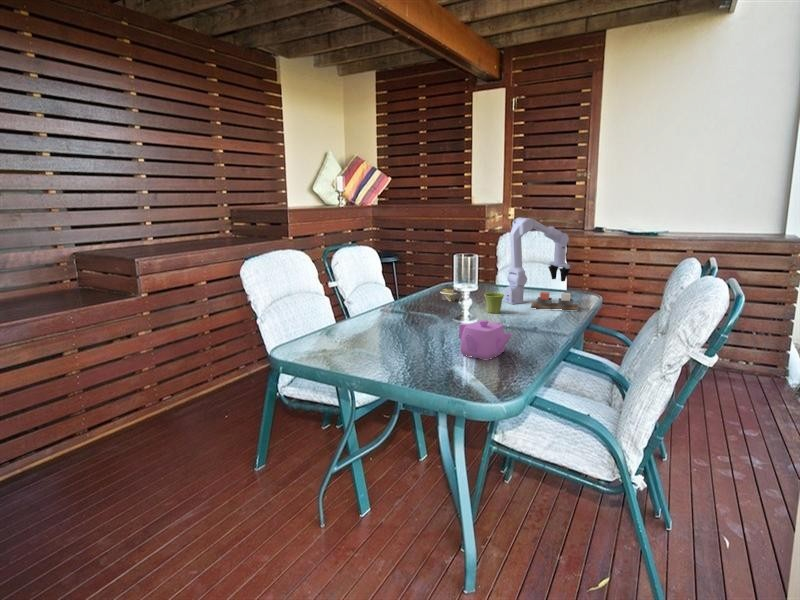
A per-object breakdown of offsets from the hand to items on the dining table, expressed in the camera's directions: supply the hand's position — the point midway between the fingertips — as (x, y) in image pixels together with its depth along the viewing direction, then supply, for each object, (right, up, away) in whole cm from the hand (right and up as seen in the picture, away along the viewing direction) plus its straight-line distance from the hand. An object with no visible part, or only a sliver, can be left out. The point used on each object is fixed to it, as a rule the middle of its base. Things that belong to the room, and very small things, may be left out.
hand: (558, 280), depth 273 cm
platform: (-60, -12, -2) cm, 62 cm away
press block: (-9, -15, -21) cm, 27 cm away
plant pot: (-40, -17, -29) cm, 52 cm away
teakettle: (-56, -31, -92) cm, 111 cm away
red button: (-13, -10, -21) cm, 27 cm away
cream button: (-4, -11, -24) cm, 26 cm away
